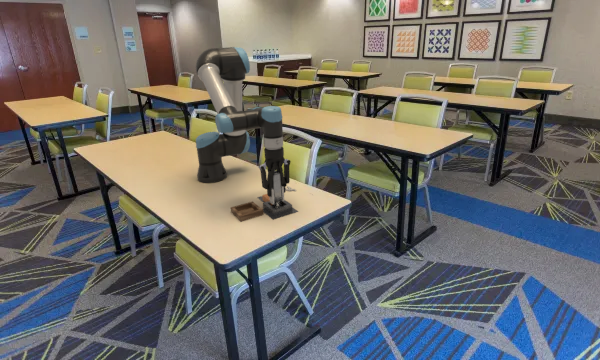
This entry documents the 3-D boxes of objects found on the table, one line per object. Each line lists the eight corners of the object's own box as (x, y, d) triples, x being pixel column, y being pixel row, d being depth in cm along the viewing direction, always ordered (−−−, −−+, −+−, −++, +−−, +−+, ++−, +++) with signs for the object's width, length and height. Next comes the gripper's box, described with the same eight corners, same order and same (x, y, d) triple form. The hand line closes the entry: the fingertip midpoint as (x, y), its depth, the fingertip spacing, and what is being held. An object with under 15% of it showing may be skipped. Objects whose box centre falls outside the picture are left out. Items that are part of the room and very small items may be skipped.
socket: (248, 201, 158) (247, 194, 157) (272, 194, 164) (271, 188, 163) (273, 221, 140) (272, 214, 139) (298, 212, 146) (298, 206, 145)
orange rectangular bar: (262, 200, 157) (262, 195, 156) (267, 198, 158) (267, 193, 157) (271, 206, 150) (270, 201, 149) (276, 205, 151) (275, 199, 151)
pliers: (296, 199, 155) (276, 189, 166) (297, 202, 156) (276, 192, 167) (313, 193, 161) (292, 184, 172) (313, 196, 162) (293, 187, 173)
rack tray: (231, 213, 147) (230, 207, 146) (253, 207, 152) (252, 201, 151) (241, 223, 139) (240, 216, 138) (263, 216, 144) (263, 209, 143)
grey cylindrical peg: (271, 208, 149) (268, 171, 143) (279, 206, 151) (277, 169, 145) (275, 212, 146) (273, 174, 140) (284, 209, 148) (282, 172, 142)
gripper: (258, 153, 131) (262, 210, 140) (297, 145, 140) (299, 199, 148) (249, 148, 137) (254, 203, 146) (287, 141, 146) (290, 193, 154)
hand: (277, 201), depth 147 cm, fingers closed on grey cylindrical peg, 4 cm apart
